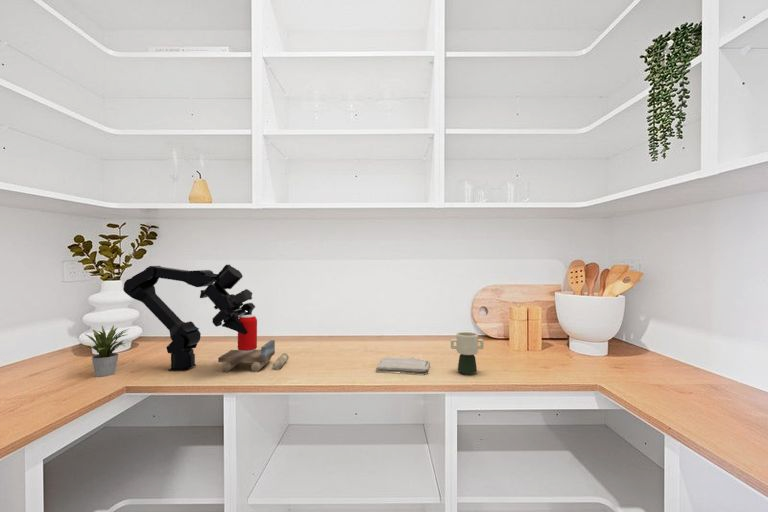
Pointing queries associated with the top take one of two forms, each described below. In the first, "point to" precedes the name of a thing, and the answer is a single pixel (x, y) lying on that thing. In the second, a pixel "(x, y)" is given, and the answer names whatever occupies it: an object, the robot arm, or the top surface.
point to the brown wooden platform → (248, 357)
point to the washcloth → (403, 365)
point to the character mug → (467, 350)
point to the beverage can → (248, 334)
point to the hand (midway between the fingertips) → (251, 331)
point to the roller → (280, 361)
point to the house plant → (105, 352)
